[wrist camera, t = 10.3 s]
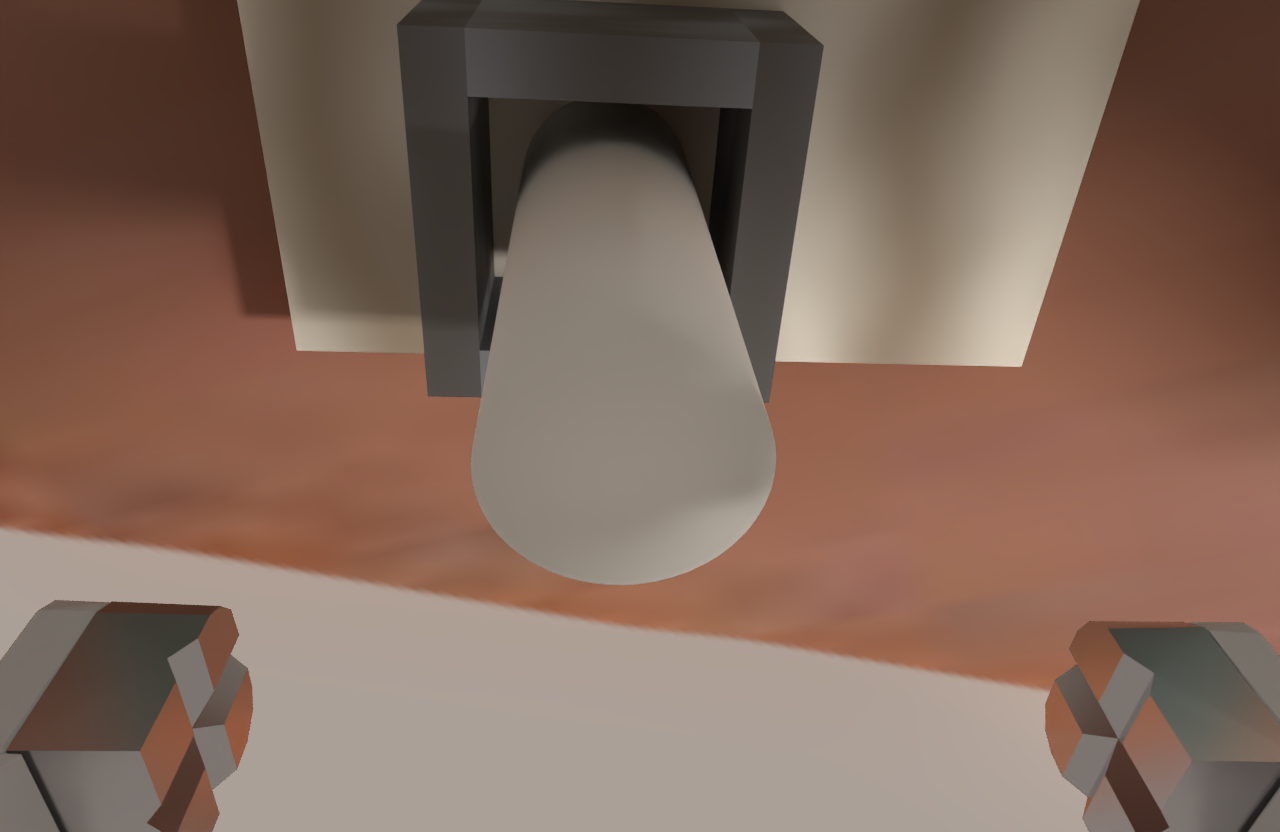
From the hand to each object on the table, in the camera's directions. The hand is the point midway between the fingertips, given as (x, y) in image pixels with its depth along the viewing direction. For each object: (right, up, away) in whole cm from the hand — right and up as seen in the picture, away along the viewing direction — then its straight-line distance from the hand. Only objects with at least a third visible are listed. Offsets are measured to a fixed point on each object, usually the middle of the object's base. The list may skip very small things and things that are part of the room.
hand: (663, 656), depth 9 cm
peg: (-1, +8, +13) cm, 15 cm away
